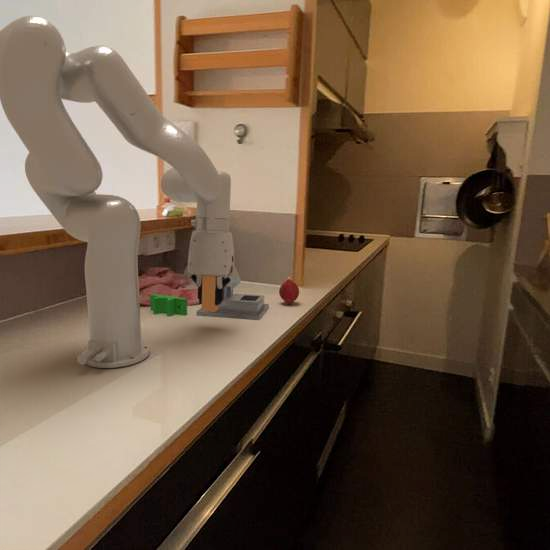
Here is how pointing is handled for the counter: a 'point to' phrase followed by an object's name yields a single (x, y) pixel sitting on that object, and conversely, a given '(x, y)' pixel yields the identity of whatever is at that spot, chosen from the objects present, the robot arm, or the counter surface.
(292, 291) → the onion
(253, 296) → the grey post stand
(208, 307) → the orange rectangular block
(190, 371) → the counter surface
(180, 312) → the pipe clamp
